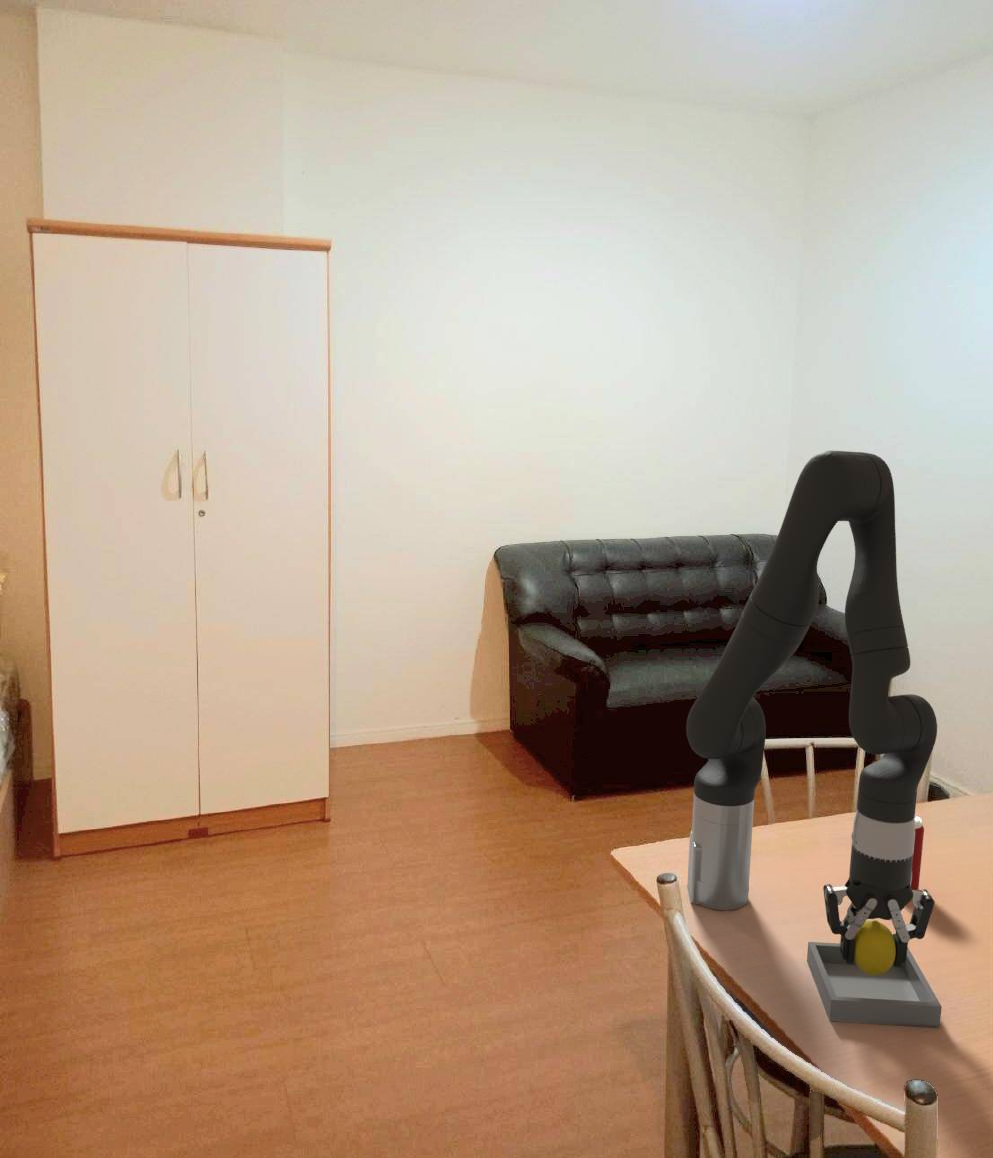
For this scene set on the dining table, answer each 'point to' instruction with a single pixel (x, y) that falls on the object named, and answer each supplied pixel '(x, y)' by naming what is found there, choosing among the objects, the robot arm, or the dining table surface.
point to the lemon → (874, 948)
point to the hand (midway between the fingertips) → (872, 961)
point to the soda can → (917, 854)
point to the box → (872, 990)
